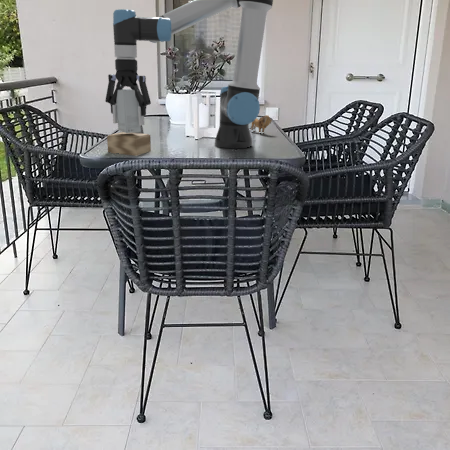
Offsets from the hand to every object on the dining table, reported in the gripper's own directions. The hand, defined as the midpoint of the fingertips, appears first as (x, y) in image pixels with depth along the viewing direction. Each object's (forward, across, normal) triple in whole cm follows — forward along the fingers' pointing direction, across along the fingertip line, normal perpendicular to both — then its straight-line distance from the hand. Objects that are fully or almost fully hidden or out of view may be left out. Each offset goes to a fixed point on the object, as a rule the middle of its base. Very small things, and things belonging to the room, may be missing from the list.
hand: (128, 124), depth 172 cm
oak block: (+10, 0, 0) cm, 10 cm away
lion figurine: (+10, -28, -71) cm, 77 cm away
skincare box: (+3, 0, 0) cm, 3 cm away
